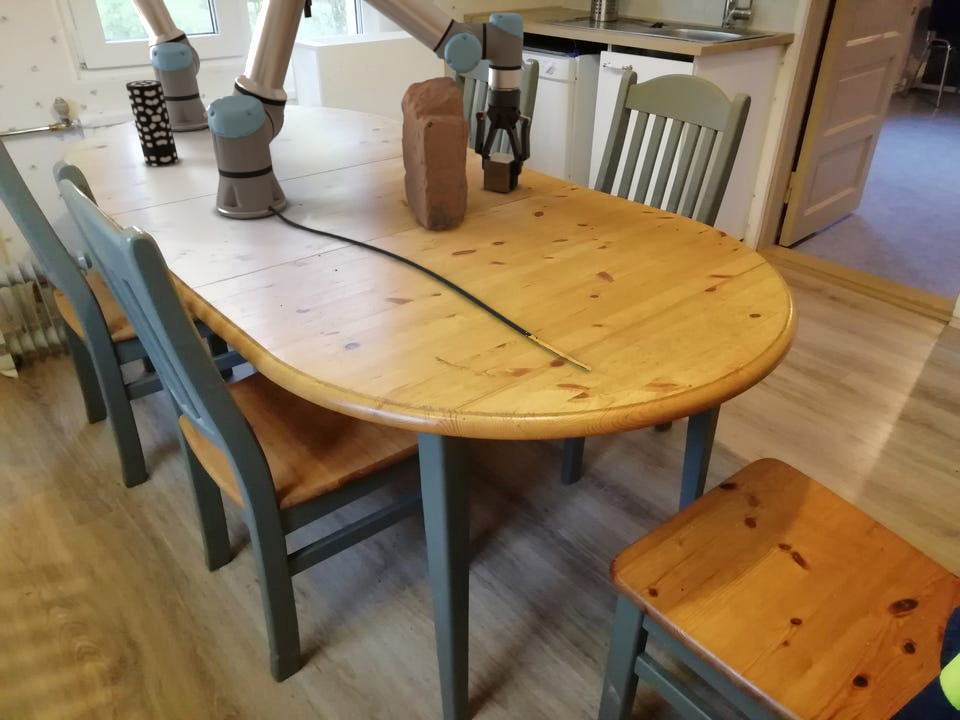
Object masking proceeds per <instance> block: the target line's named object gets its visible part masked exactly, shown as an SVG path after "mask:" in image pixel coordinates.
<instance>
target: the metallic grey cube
mask: <svg viewBox="0 0 960 720" xmlns="http://www.w3.org/2000/svg"><path fill="white" fill-rule="evenodd" d="M514 160H515V159H514V155H513V154H510V153H503V152H497V151H496V152H494V153H493V154H490V155H489V157H488V158H486V159H485V160H484V170H483V190H487V191H492V192H493V191H494V192H499V193H506V194H507V193H509V192H510V191H512V189H511V167H512V162H513V161H514ZM518 177H520V175H518Z"/></svg>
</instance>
